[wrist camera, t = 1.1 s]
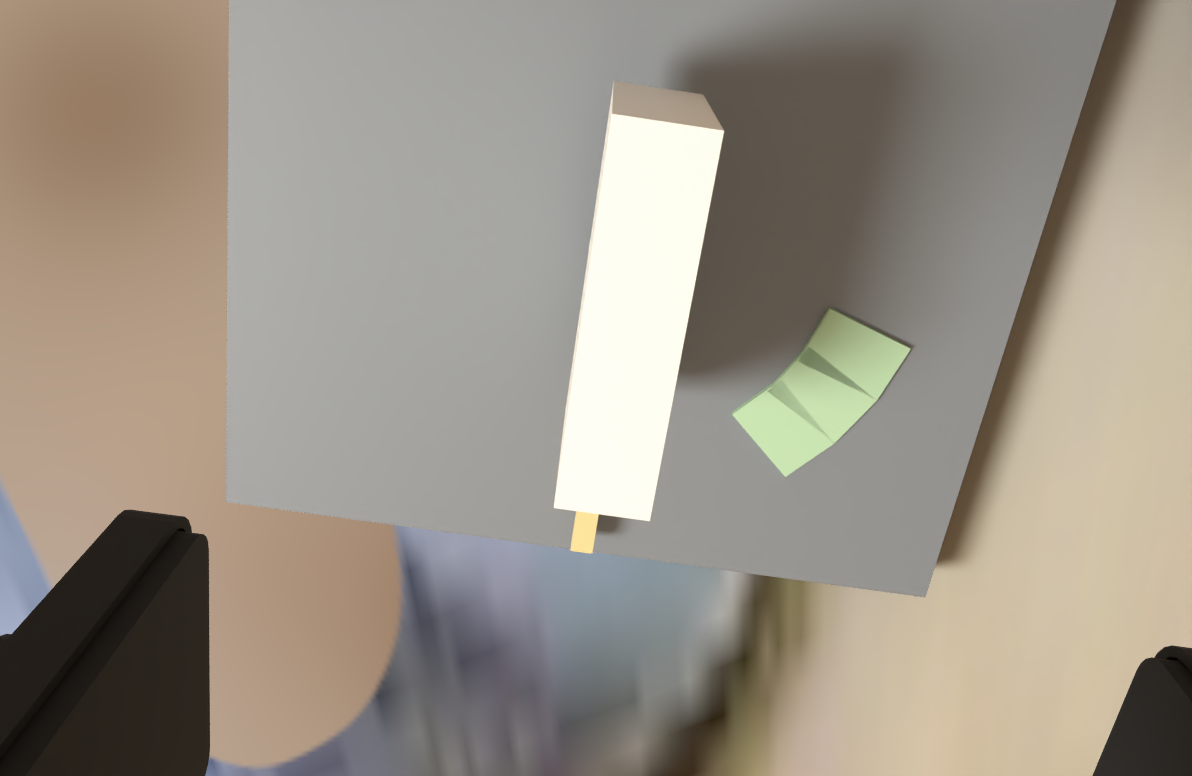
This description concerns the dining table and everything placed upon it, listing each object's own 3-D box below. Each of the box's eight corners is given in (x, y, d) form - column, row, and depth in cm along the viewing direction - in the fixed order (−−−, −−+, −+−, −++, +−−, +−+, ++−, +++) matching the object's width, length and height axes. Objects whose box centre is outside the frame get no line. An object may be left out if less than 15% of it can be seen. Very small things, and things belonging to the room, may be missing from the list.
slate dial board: (253, -223, 23) (228, -235, 22) (1113, -84, 24) (1147, -86, 23) (243, 476, 30) (224, 504, 29) (911, 568, 31) (926, 600, 30)
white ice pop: (613, 75, 24) (611, 113, 18) (699, 87, 24) (724, 131, 18) (546, 537, 29) (527, 683, 23) (617, 547, 29) (616, 694, 23)
